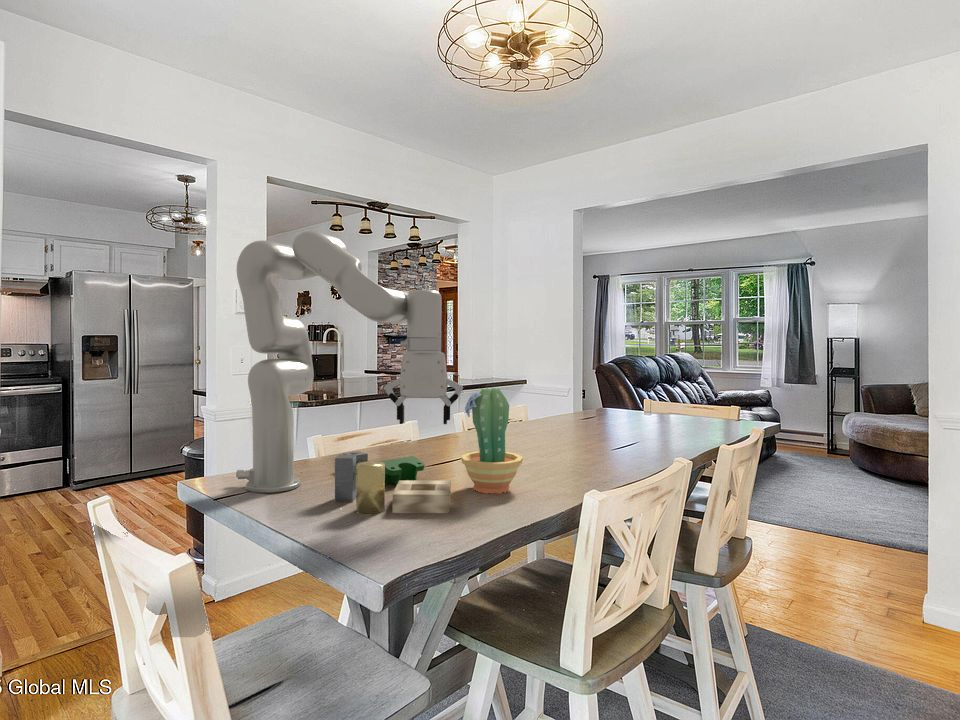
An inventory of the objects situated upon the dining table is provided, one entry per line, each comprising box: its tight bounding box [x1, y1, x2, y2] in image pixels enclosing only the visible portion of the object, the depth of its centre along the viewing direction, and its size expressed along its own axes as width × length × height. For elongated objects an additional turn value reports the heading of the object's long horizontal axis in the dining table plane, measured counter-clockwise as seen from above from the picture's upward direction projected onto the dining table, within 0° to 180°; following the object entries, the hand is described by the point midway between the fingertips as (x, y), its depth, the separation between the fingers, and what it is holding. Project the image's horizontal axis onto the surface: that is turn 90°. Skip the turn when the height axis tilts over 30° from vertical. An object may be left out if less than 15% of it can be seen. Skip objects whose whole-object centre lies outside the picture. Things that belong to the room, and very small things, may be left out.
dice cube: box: [342, 450, 369, 465], centre depth 160 cm, size 5×5×5 cm
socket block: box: [392, 479, 452, 514], centre depth 128 cm, size 12×12×4 cm
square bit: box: [334, 454, 356, 503], centre depth 132 cm, size 4×4×10 cm
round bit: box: [355, 460, 386, 515], centre depth 124 cm, size 6×6×10 cm
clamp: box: [377, 455, 426, 487], centre depth 148 cm, size 12×6×9 cm, turn 126°
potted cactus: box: [460, 387, 524, 495], centre depth 142 cm, size 15×15×25 cm
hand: (423, 423), depth 128 cm, fingers open, 9 cm apart
